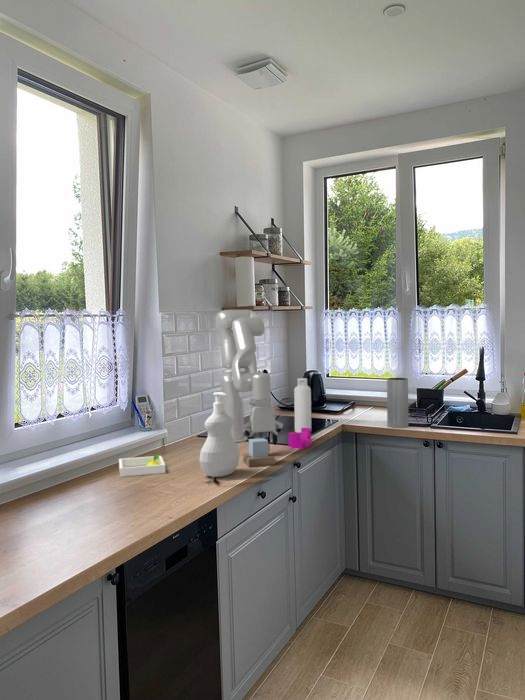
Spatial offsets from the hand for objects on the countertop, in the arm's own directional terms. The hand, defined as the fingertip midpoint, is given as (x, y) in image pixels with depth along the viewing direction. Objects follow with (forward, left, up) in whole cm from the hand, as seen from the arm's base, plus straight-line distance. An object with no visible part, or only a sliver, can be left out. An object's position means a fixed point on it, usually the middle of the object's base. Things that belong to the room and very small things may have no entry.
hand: (263, 445), depth 227 cm
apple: (+2, -45, -9) cm, 46 cm away
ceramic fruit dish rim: (+6, -49, -4) cm, 50 cm away
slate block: (+11, -5, -1) cm, 12 cm away
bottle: (-35, +30, -5) cm, 46 cm away
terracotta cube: (-1, 0, -5) cm, 5 cm away
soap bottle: (+23, -23, -5) cm, 33 cm away
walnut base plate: (+11, -5, -4) cm, 13 cm away
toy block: (-11, +21, -5) cm, 24 cm away
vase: (-24, +75, -5) cm, 79 cm away
